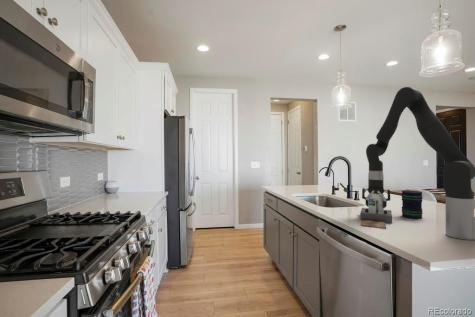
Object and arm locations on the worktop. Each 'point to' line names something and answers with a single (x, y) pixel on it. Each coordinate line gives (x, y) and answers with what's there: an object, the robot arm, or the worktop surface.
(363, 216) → the square-hole rail
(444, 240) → the worktop surface
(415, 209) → the storage jar
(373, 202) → the syrup box
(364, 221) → the walnut pad
